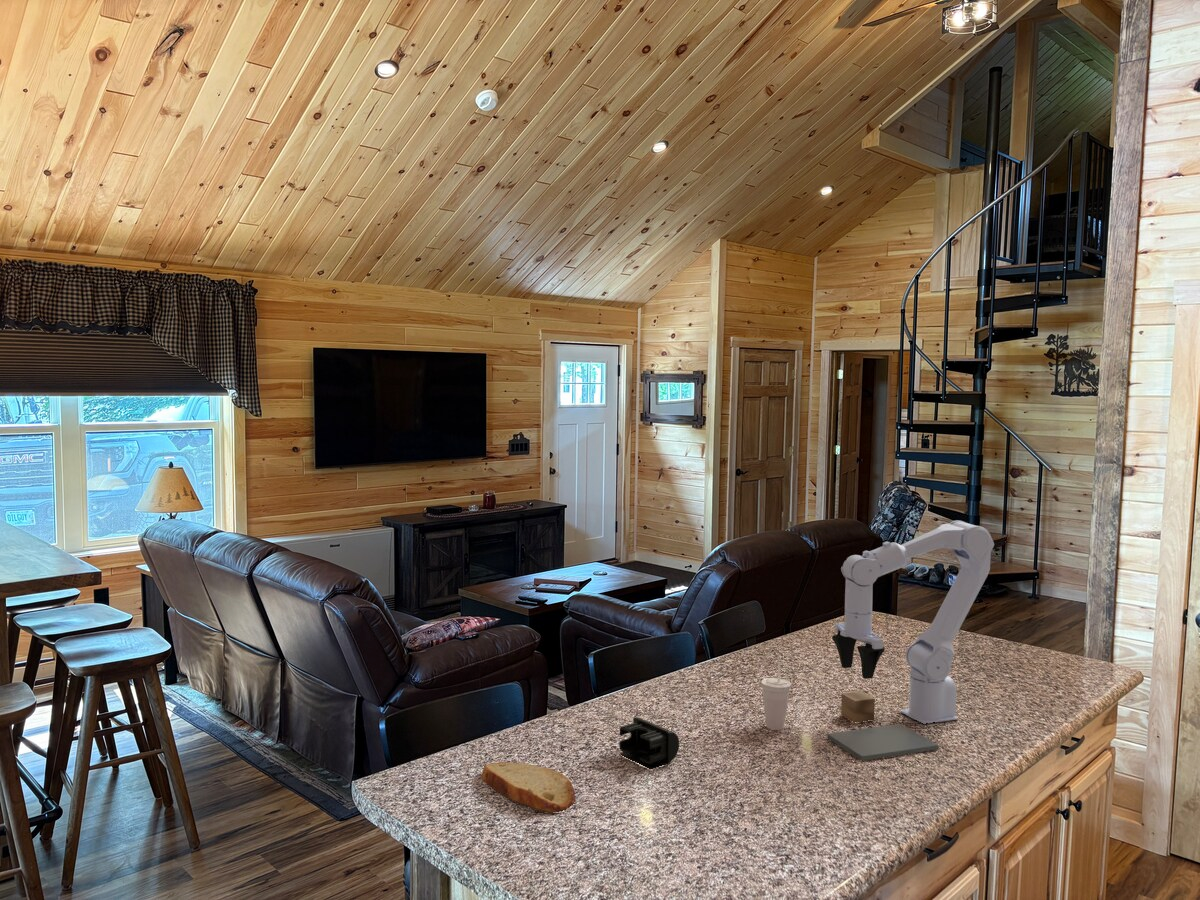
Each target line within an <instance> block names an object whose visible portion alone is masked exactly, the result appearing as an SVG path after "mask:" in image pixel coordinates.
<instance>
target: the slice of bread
mask: <svg viewBox="0 0 1200 900" xmlns="http://www.w3.org/2000/svg"><path fill="white" fill-rule="evenodd" d="M480 778H481V779H482V780H483V781H484V783H485V784H486V783H487V784H488V785H487V784H486V785H487V786H489V787H490V788H491V787H492V789H493V790H494V791H496V792H497V791H498V792H497V793H501V794H500V795H502V796H503V797H504V798H506V799H508V800H510V801H512V802H514V803H515V804H517V803H518V805H521V804H522V805H521V806H523V805H524V806H523V807H525V806H526V807H525V808H527V807H530V808H529V809H532V810H534V809H535V810H534V811H537V812H539V811H542V812H541V813H544V812H548V813H547V814H550V813H553V812H559V811H563V810H566V809H567V808H569V807H570V806H571V805H573V804H574V802H575V803H576V792H575V789H574V786H573V784H572V782H571V780H570V779H569V778H567V776H565V775H564V774H563V773H560V771H556V770H554V769H551V768H549V767H544V766H543V767H541V766H537V765H533V764H528V763H524V762H521V763H520V762H511V761H510V762H509V761H507V762H506V761H504V762H503V761H501V762H493V763H488V764H485V765H484V767H483V770H482V772H481V774H480ZM553 814H554V813H553Z"/></svg>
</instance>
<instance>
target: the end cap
mask: <svg viewBox="0 0 1200 900" xmlns="http://www.w3.org/2000/svg"><path fill="white" fill-rule="evenodd" d="M627 734H630V736H629V738H626V739H625V738H624V739H622V740H619V745H618V746H619V750H620V751H621V752H620V756H621V755H622V756H624V757H626V758H628V759H630V760H632V761H635V762H637V763H639V764H641V765H643V766H645V767H647V768H649V769H653V768H656V767H659V766H662V765H665V764H668V763H669V762H670V763H671V762H672V761H674V759H675V758H676V756H677V754H678V752H679V748H680V740H679V739H680V738H679V737H678V735H677V734H676V732H674V731H671V730H669V729H668V728H664V727H662V726H660V725H657V724H655V723H653V722H650V721H648V720H646V719H643V718H641V717H638V716H637V717H633V722H632V723H629V724H625V725H622V726H620V727H619V735H620V736H623V735H627ZM670 763H669V764H670ZM669 764H668V765H669Z"/></svg>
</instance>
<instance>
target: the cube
mask: <svg viewBox="0 0 1200 900" xmlns="http://www.w3.org/2000/svg"><path fill="white" fill-rule="evenodd" d="M875 701H876V699H875V697H872V696H870V695H869V694H867V693H865V692H863V691H853V692H852V691H851V692H845V693H841V703H840V705H841V707H840V709H841V710H840V715H842V716H841V717H843V716H844V717H843V718H845V719H846V718H847V719H846V720H848V719H849V720H848V721H850V720H851V721H853V722H854V723H853V722H852V723H853V724H856V723H855V722H862V723H864V722H863V721H868V720H874V721H875ZM851 721H850V722H851Z"/></svg>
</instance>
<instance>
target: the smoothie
mask: <svg viewBox="0 0 1200 900" xmlns="http://www.w3.org/2000/svg"><path fill="white" fill-rule="evenodd" d="M760 687H761V689H762V699H763V709H764V717H765V727H766V728H767V729H768V730H773V731H781V730H784V728H785V723H786V722H785V721H786V716H787V711H788V710H787V709H788V701H789V696H790V690H791V689H792V683H791V682H790V681H789V680H787V679H784V678H781V662H779V661H777V677H767V678H763V679H762V680H761V681H760Z"/></svg>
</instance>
